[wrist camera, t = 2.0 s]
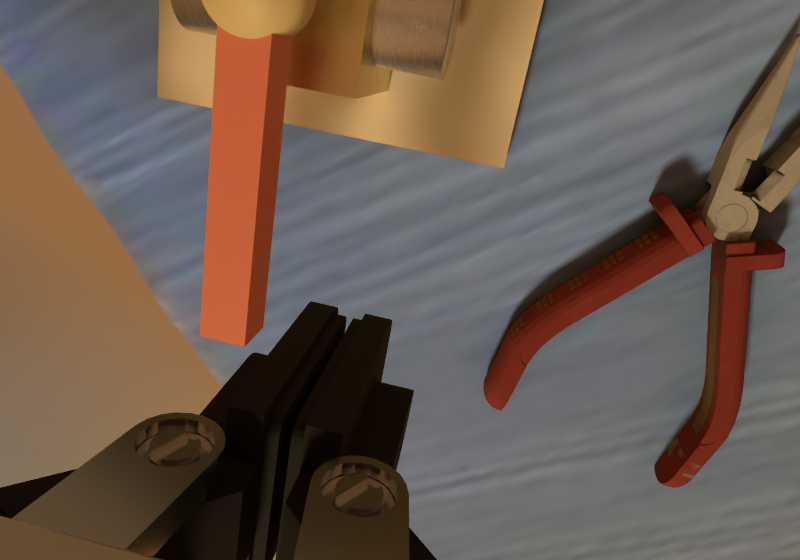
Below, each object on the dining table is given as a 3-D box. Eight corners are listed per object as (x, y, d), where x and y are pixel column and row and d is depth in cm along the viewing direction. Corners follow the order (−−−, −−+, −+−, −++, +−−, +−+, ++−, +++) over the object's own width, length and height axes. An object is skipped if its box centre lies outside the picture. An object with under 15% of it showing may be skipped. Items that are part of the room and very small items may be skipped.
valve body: (474, -46, 23) (457, -91, 16) (445, 102, 25) (419, 118, 18) (230, -88, 24) (118, -146, 17) (222, 58, 26) (119, 57, 19)
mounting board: (564, -90, 23) (567, -99, 22) (504, 162, 27) (503, 168, 26) (182, -151, 25) (163, -164, 24) (174, 94, 29) (157, 96, 27)
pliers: (952, 107, 24) (1001, 112, 21) (674, 472, 32) (687, 507, 29) (686, -9, 24) (705, -17, 22) (475, 381, 32) (472, 408, 29)
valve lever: (229, -73, 17) (199, -86, 16) (322, -56, 17) (302, -69, 15) (206, 312, 22) (181, 332, 20) (279, 330, 22) (260, 352, 20)
